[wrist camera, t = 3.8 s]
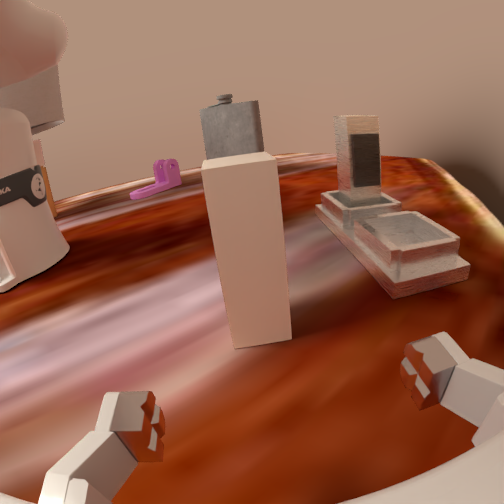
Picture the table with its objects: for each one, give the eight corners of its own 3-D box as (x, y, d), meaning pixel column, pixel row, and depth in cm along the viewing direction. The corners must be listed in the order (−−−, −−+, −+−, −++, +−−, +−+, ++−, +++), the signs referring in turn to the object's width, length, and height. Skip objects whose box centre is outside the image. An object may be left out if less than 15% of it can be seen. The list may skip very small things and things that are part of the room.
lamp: (65, 203, 83) (42, 70, 66) (96, 206, 70) (70, 41, 52) (-1, 233, 67) (-29, 88, 49) (13, 244, 53) (-21, 58, 36)
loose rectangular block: (234, 348, 21) (200, 170, 16) (230, 311, 25) (203, 159, 21) (292, 339, 22) (276, 159, 17) (279, 303, 26) (263, 150, 21)
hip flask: (269, 175, 73) (259, 89, 64) (260, 179, 70) (249, 89, 61) (215, 175, 81) (203, 99, 73) (205, 179, 78) (193, 100, 70)
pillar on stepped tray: (392, 299, 24) (398, 122, 18) (315, 215, 44) (308, 116, 38) (467, 279, 24) (481, 126, 19) (370, 208, 44) (366, 114, 39)
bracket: (168, 184, 80) (163, 158, 78) (181, 184, 77) (177, 157, 74) (126, 199, 72) (120, 171, 69) (138, 200, 68) (132, 170, 65)
